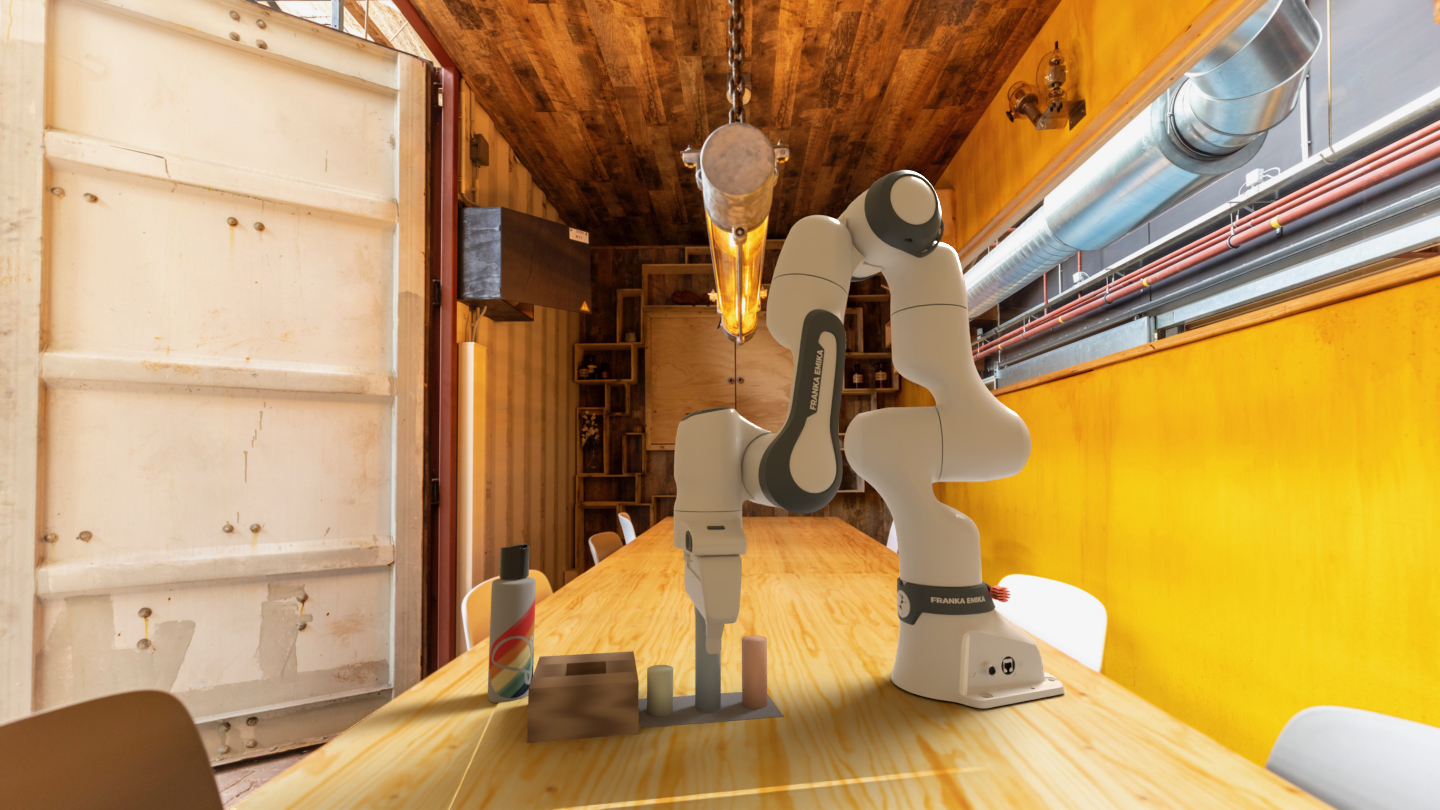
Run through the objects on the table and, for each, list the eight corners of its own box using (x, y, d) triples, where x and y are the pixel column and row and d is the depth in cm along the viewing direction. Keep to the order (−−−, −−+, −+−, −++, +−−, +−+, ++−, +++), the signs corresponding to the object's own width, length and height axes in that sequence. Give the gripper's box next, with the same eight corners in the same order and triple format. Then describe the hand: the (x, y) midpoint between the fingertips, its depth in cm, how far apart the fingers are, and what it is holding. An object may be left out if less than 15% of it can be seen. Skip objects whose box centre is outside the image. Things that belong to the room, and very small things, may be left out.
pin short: (671, 705, 77) (671, 664, 78) (674, 715, 74) (674, 672, 75) (645, 707, 76) (646, 665, 77) (647, 717, 73) (648, 673, 74)
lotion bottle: (518, 705, 78) (523, 546, 80) (478, 702, 79) (484, 545, 81) (540, 690, 84) (544, 541, 86) (502, 687, 85) (507, 540, 87)
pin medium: (763, 698, 79) (763, 634, 80) (770, 707, 76) (769, 641, 77) (739, 700, 79) (739, 635, 80) (745, 709, 76) (744, 642, 76)
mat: (764, 693, 82) (764, 690, 82) (784, 719, 73) (784, 716, 74) (637, 702, 79) (637, 699, 79) (641, 731, 70) (641, 727, 70)
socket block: (632, 698, 80) (633, 651, 81) (637, 737, 69) (638, 681, 69) (538, 705, 78) (539, 656, 79) (526, 746, 67) (528, 688, 67)
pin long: (718, 701, 78) (718, 589, 80) (723, 711, 75) (722, 594, 77) (693, 703, 78) (693, 590, 79) (697, 713, 74) (697, 595, 76)
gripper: (674, 526, 88) (673, 625, 87) (695, 542, 68) (695, 671, 67) (717, 525, 89) (717, 623, 88) (750, 540, 69) (751, 667, 68)
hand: (708, 644), depth 77 cm, fingers open, 5 cm apart
